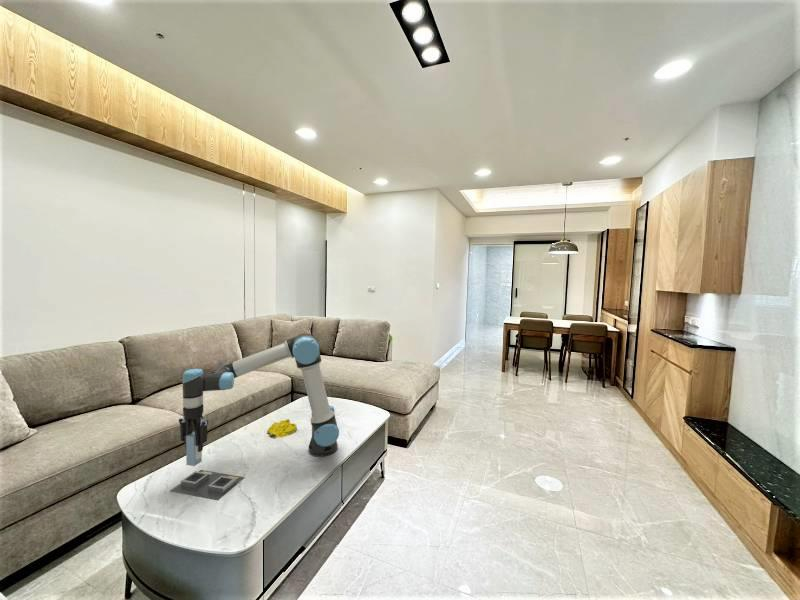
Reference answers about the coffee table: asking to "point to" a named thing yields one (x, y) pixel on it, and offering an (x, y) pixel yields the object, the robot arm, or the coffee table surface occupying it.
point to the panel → (207, 484)
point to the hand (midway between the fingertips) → (194, 457)
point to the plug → (191, 450)
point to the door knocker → (282, 428)
